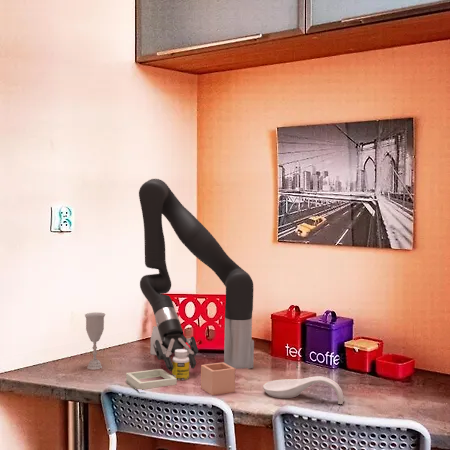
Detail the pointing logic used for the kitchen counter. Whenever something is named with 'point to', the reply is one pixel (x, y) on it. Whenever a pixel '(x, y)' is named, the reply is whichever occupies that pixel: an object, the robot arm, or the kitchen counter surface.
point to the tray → (134, 376)
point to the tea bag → (155, 337)
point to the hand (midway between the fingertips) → (182, 368)
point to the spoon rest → (299, 387)
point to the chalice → (94, 334)
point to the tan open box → (217, 378)
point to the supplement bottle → (180, 365)
